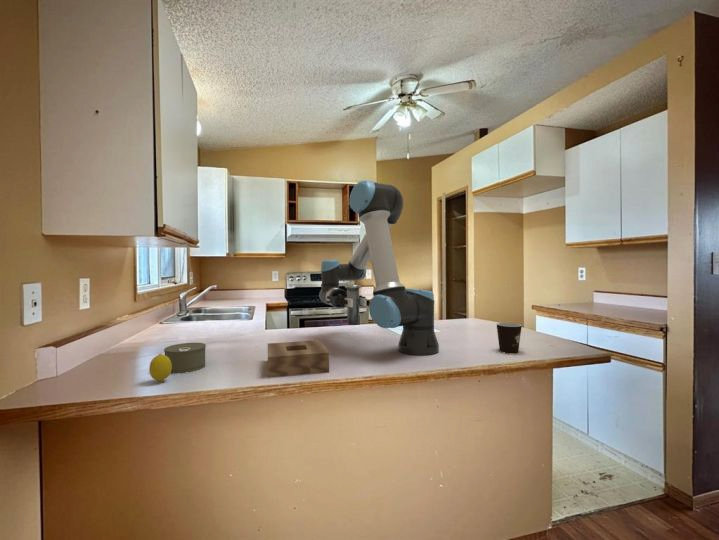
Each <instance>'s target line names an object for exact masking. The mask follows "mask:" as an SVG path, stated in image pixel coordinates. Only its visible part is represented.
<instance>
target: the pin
mask: <svg viewBox="0 0 719 540" xmlns="http://www.w3.org/2000/svg"><path fill="white" fill-rule="evenodd" d="M361 288H362V284H344V289H346V292H347V298H349V299H353V307H348V306H346V308H347V309H346V310H347V311H346V312H347V313H346V315H347V317H346V320H347V325H351V326H355V325H356V326H357V325H360V324H361V323H360V320H361V319H360V316H361V315H360V305H359V295H360V289H361Z"/></svg>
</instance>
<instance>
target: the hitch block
mask: <svg viewBox="0 0 719 540" xmlns="http://www.w3.org/2000/svg"><path fill="white" fill-rule="evenodd" d="M324 373H330V352H329V350H328V349H327V347H326V346H325V345H324V344H323V342H322V340H320V339H319V340H318V339H317V340H303V341H287V342H272V343H271V342H270V343H267V377H269V378H277V377H289V376H290V377H291V376H300V375H301V376H302V375H313V374H324Z"/></svg>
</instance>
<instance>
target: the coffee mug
mask: <svg viewBox="0 0 719 540" xmlns="http://www.w3.org/2000/svg"><path fill="white" fill-rule="evenodd" d="M522 326H523V325H522V324H520V323H517V322H498V323H496V329H497V330H496V331H497V339H498V349H499V352H500V351H501V353H503V352H505V353H504V354H509V353H515V354H518V353H519V350H520V344H521V343H520V341H521V333H522Z"/></svg>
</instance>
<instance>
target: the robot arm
mask: <svg viewBox="0 0 719 540" xmlns="http://www.w3.org/2000/svg"><path fill="white" fill-rule="evenodd" d="M349 207H350V209H351V210H352V211H353V212H355V213H357V214H358V220H359V221H360V222H361V223H362V224H363V225H364V230H365V234H364V236H363V237H362V239H361V240H360V243H359V244H358V246H357V248H356V250H355V251H354V253H353V255H352V256H351V258H350V259H349V261H348V263H339V260H338V259H323V260H322V261H321V264H320V265H321V266H320V268H321V269H320V271H321V290H319V294H318V296H319V299H320V301H321V302H322V303H324V304H325V305H330V306H333V307H334V308H335V309H336V308H338V309H339V308H345V307H347V306H348V307H353V299H349V298H347V290H345V289H343V288H340V282H347V281H349V282H351V281H356V282H357V281H359V280H360V281H361V280H364V279H365V277H366V274H367V268H366V266H367V265H368V263H369V262H371V267H372V271H373V277H374V283H375V288H374V289H373V291H372V295H373V297H372V298H371V299H370V301H369V304H368V311H369V315H370V318H371V319H372V321H373V322H374V324H375V325H377V326H378V327H380V328H381V329H395V328H398V327H402V332H401V335H400V338H399V341H398V345H397V347H398V348H397V349H398V352H401V353H403V354H407V355H411V356H416V355H417V356H427V355H434V354H437V353H439V351H440V345H439V340H438V339H437V335H436V332H435V295H434V294H435V293H434V292H433V291H431V290H425V289H418V288H417V289H414V288H406V286H405V285H404V284H402V283H401V282H400V277H399V272H398V268H397V262H396V258H395V252H394V247H393V242H392V238H391V237H392V236H391V232H390V229H391V227H392V226H394V225H396V223H398V221H399V219H400V217H401V215H402V212H403V209H404V197H403V195H402V192H401V190H399V188H397V187H396V186H395V185H391V184H386V183H381V182H374V181H373V180H361V181H358V182H357V183H355V185H354V186H353V188H352V190H351V192H350V195H349ZM370 260H371V261H370ZM367 303H368V302H367V297H366V296H363V295H362V294H361V295H360V294H359V306H362V307H367Z"/></svg>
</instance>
